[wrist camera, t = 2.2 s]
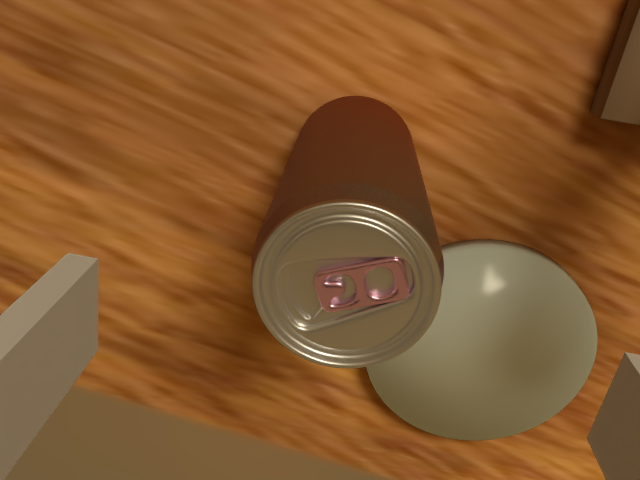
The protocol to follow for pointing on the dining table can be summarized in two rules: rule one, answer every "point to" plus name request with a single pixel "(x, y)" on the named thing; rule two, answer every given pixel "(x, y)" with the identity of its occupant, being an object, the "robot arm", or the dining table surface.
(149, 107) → the dining table surface
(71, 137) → the dining table surface
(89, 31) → the dining table surface
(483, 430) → the dish
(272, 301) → the beverage can
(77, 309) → the robot arm
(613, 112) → the balance
